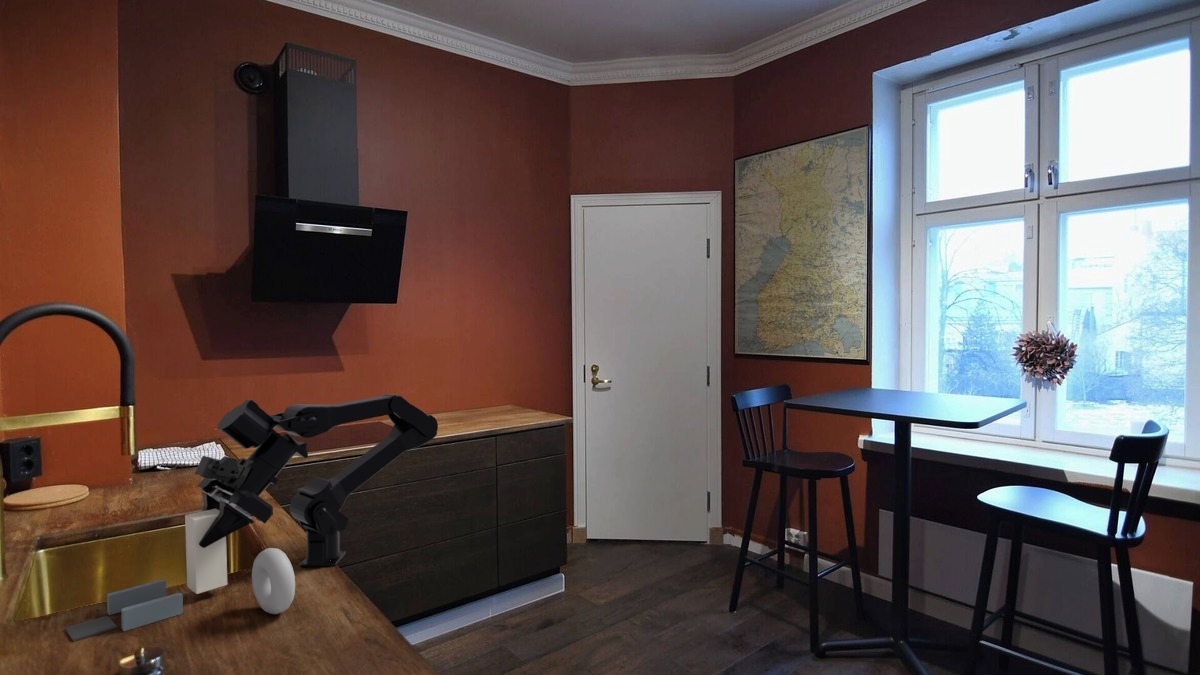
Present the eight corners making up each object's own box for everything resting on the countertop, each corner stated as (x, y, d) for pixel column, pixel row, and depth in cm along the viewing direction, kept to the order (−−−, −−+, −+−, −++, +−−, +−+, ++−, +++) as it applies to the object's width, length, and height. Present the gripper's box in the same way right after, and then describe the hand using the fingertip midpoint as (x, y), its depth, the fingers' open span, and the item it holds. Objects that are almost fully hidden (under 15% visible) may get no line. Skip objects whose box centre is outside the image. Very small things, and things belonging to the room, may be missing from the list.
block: (217, 577, 107) (215, 508, 107) (227, 584, 104) (225, 513, 104) (187, 586, 104) (185, 515, 103) (196, 593, 101) (194, 520, 100)
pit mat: (107, 617, 96) (107, 615, 96) (116, 628, 92) (116, 626, 92) (65, 629, 92) (65, 627, 92) (73, 641, 89) (73, 639, 89)
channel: (163, 596, 103) (163, 578, 103) (182, 613, 97) (182, 594, 97) (107, 612, 98) (107, 593, 97) (123, 631, 91) (123, 611, 91)
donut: (248, 607, 99) (247, 544, 99) (270, 600, 102) (269, 539, 102) (277, 625, 93) (276, 559, 93) (300, 617, 96) (299, 552, 95)
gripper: (208, 431, 112) (136, 506, 104) (250, 443, 100) (172, 529, 92) (256, 466, 119) (191, 540, 110) (301, 481, 107) (232, 565, 98)
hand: (195, 543), depth 103 cm, fingers closed on block, 4 cm apart
